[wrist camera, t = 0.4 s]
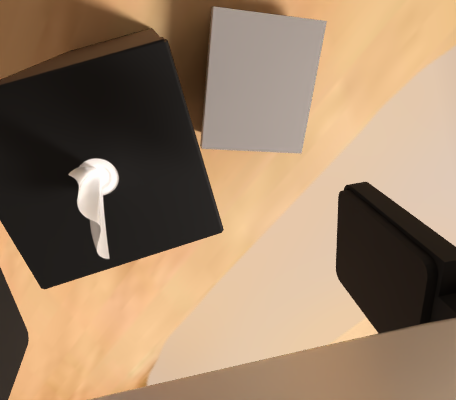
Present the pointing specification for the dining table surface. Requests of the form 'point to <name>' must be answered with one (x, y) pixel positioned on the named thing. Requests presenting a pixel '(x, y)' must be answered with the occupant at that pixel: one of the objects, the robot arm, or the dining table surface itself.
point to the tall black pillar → (100, 160)
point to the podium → (259, 80)
